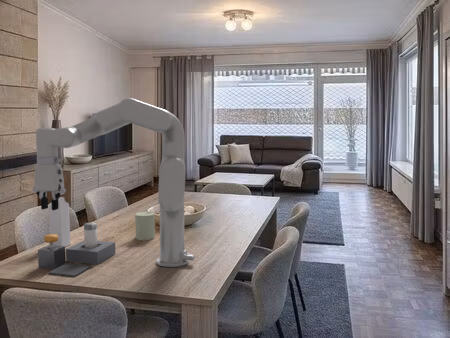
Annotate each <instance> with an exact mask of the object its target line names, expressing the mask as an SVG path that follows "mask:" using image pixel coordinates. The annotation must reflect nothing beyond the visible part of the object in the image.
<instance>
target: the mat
mask: <svg viewBox="0 0 450 338" xmlns="http://www.w3.org/2000/svg"><path fill="white" fill-rule="evenodd" d="M92 267H93V266H92V265H91V264H88V265H87V264H80V263H69V262H66V264H64V265H62V266H60V267H58V268H56V269H52V270H51V271H49V272H48V275H53V276H61V277H62V276H64V277H71V278H72V277H73V278H76V277H78V276H79V275H81V274H83V273H84V272H87V271H88V270H89V269H91V268H92Z"/></svg>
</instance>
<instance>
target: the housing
mask: <svg viewBox="0 0 450 338" xmlns="http://www.w3.org/2000/svg"><path fill="white" fill-rule="evenodd" d="M97 244H98V247H96V248H85V241H84V240H82V241H80V242H78V243H76V244H73V245H72V246H71V245H70V246H68V248H65V256H66V263H69V262H70V263H77V264H80V263H81V264H88V265H100V264H101V263H103V262H105V261H106V260H108V259H109V258H112V257H113V256H115V255H116V253H117V252H116V241H115V242H114V241H104V240H97Z"/></svg>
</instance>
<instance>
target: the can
mask: <svg viewBox="0 0 450 338" xmlns="http://www.w3.org/2000/svg"><path fill="white" fill-rule="evenodd" d="M134 215H135V217H134V219H135V220H134V221H135V236H134V237H135V239H136V240H139V241H150V240H153V239H156V234H155V233H156V229H155V228H156V227H155V226H156V225H155V222H156V220H155V212H153V211H140V212H139V211H138V212H136V213H135V214H134Z"/></svg>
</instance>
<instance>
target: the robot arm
mask: <svg viewBox="0 0 450 338" xmlns="http://www.w3.org/2000/svg"><path fill="white" fill-rule="evenodd" d="M129 124H133V125H136V126H139V127H142V128H144V129H147V130H149V131H153V132H157V133H161V135H162V155H161V163H160V165H159V171H158V195H157V201H158V204H159V255H160V256H159V257H158V258H157V259H156V261H155V263H156V264H157V265H158V266H160V267H164V268H178V267H183V266H185V265H188V263H189V261H192V262H193V261H195V256H194V254H193V253H188V250H187V249H185V188H186V187H185V186H186V163H185V156H186V155H185V154H186V152H185V151H186V138H185V137H186V135H185V130H184V127H183V124H182V122H181V120H180V119H179V118H178V117H177V116H176V115H174V114H173V113H171V112H170V111H168V110H166V109H163V108H160V107H157V106H155V105H152V104H149V103H146V102H143V101H141V100H137V99H136V98H133V97H126V98H124V99H122V100H121V101H120V102H117V103H116V104H114V105H112V106H109V107H107V108H105V109H104V108H103V109H102V110H99V111H97V112H96V113H94V114H93V115H92V116H90V118H88V119H85V120H83V121H81V122H78V123H76V124H74V125H71V126H68V127H61V128H60V127H59V128H54V127H40V128H37V129H36V131H35V143H36V144H35V146H36V165H35V168H34V186H33V188H32V192H34V193H35V194H36V195H37V196H38V199H40V209H41V210H42V211H43V210H46V209H49V199H48V197H47V195H48V194H47V193H48V192H51V193H50V194H51V197H52V199H51V201H50V203H51V204H52V210H56V209H58V206H59V203H58V199H59V198H60V197H62V195H64V194H65V193H66V192H67V189H66V188H65V180H64V172H63V168H62V165H61V164H60V163H61V162H62V159H61V158H59V148H62V149H69V148H73V147H77V146H79V145H81V144H84V143H85V142H89V141H90V140H92V139H94V138H97V137H99V136H104V135H106V134H108V133H112V132H113V131H116V130H118V129H120V128H122V127H124V126H127V125H129Z"/></svg>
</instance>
